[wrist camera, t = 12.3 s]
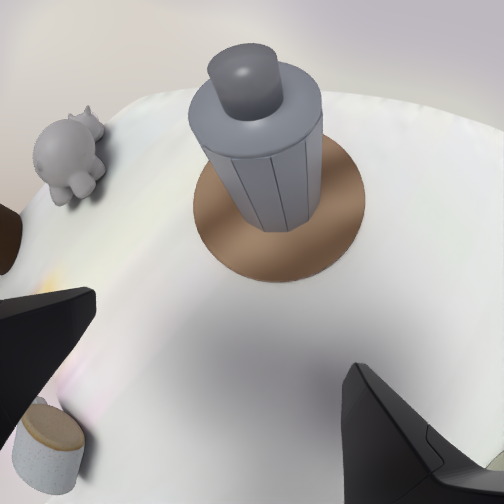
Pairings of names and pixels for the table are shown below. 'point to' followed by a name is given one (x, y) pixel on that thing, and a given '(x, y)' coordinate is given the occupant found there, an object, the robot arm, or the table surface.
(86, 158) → the chubby cartoon animal
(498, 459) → the can
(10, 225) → the olive oil
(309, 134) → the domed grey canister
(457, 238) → the table surface
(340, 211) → the cheese board
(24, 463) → the ceramic mug
